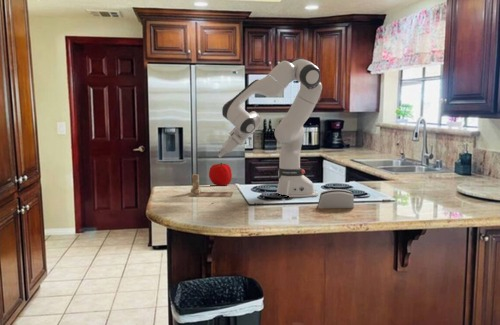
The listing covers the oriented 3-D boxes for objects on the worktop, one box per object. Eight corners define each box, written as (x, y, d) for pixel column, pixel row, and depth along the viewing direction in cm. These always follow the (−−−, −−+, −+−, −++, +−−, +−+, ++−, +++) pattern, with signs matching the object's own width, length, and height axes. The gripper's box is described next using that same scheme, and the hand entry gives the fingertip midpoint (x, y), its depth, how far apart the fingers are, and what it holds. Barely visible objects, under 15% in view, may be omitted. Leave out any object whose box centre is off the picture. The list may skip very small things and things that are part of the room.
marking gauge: (201, 192, 229) (200, 173, 228) (199, 194, 223) (198, 175, 222) (192, 192, 229) (192, 173, 228) (190, 194, 223) (190, 175, 222)
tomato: (231, 187, 249) (230, 164, 247) (207, 187, 249) (207, 164, 247) (232, 182, 264) (232, 160, 263) (210, 182, 265) (210, 161, 263)
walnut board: (233, 194, 230) (233, 191, 230) (231, 199, 217) (231, 196, 217) (192, 194, 231) (192, 191, 230) (188, 199, 218) (188, 196, 217)
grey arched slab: (351, 205, 204) (354, 187, 199) (353, 210, 200) (356, 192, 195) (317, 205, 204) (318, 187, 199) (318, 211, 200) (319, 193, 195)
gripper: (231, 131, 234) (214, 149, 234) (233, 134, 214) (214, 153, 214) (239, 139, 235) (222, 157, 235) (242, 143, 215) (223, 162, 215)
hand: (218, 155), depth 225 cm, fingers open, 8 cm apart
